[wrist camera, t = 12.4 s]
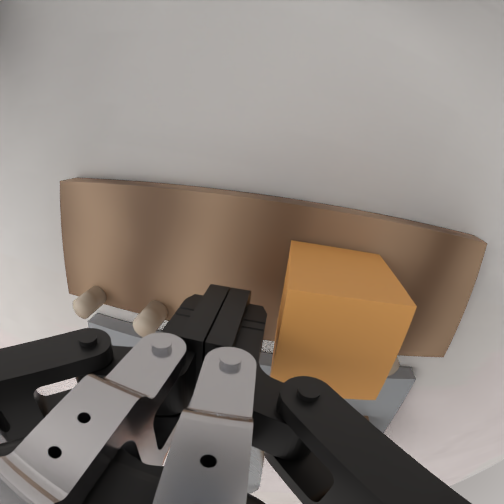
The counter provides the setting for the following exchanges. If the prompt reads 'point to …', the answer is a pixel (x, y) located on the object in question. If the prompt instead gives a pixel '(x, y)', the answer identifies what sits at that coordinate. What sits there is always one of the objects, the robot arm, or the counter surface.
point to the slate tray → (376, 410)
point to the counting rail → (246, 252)
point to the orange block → (340, 319)
